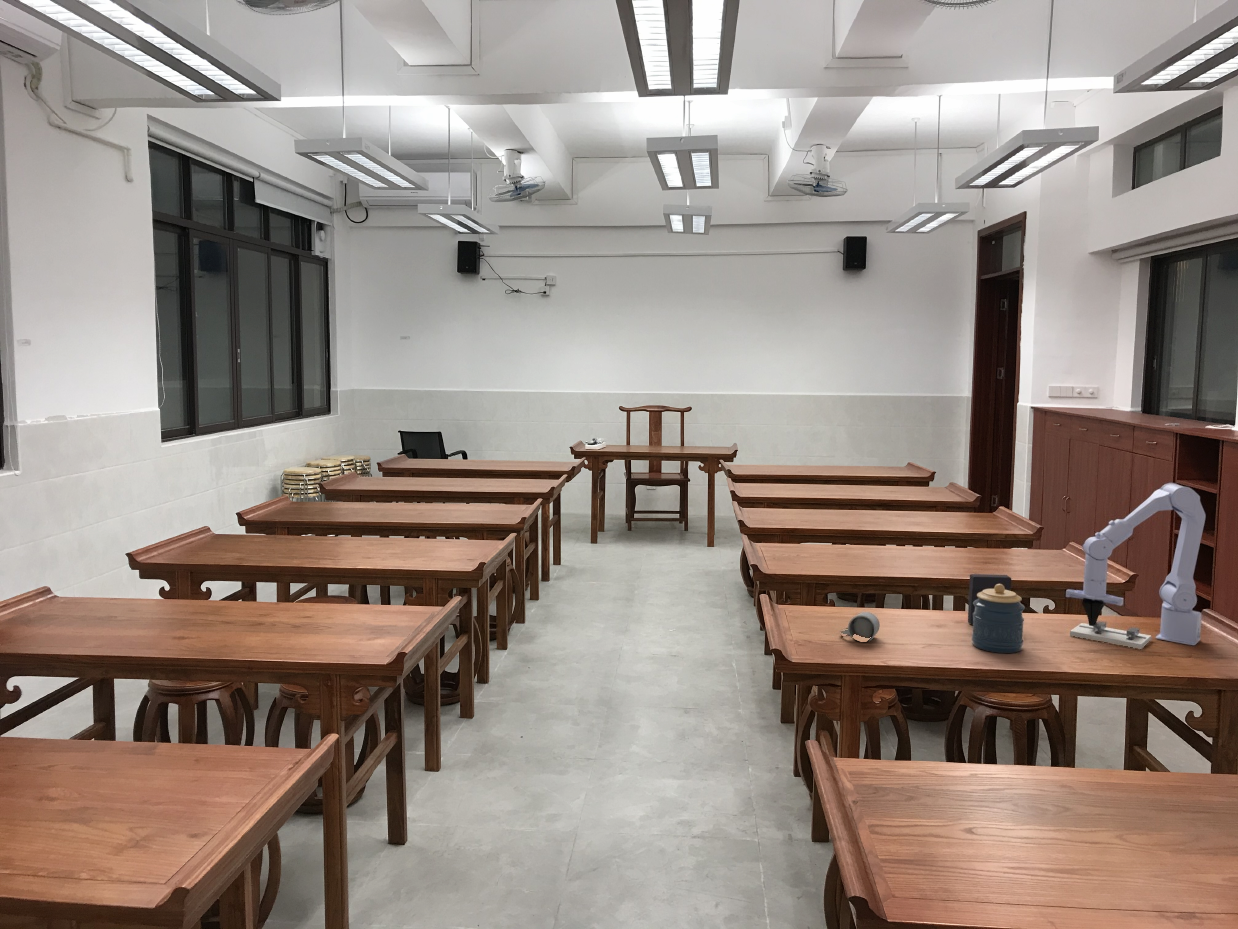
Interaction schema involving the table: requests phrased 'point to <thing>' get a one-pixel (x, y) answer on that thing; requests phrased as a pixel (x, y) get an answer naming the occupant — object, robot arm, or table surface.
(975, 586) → the calculator
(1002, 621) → the canister
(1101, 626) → the block
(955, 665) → the table surface
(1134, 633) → the fixed point
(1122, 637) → the board
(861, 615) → the ceramic mug
